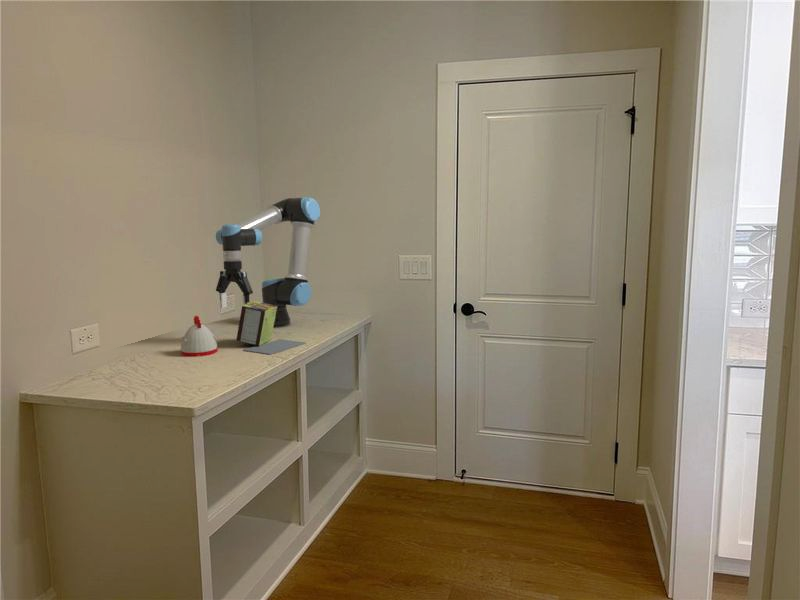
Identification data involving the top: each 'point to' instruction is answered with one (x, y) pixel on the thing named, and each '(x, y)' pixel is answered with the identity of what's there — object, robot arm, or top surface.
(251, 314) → the protein box
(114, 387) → the top surface
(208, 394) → the top surface
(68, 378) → the top surface
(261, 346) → the slate rubber mat
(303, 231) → the robot arm
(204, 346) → the kitchen timer
